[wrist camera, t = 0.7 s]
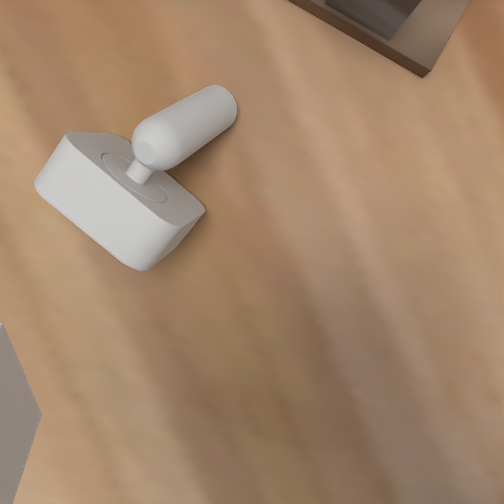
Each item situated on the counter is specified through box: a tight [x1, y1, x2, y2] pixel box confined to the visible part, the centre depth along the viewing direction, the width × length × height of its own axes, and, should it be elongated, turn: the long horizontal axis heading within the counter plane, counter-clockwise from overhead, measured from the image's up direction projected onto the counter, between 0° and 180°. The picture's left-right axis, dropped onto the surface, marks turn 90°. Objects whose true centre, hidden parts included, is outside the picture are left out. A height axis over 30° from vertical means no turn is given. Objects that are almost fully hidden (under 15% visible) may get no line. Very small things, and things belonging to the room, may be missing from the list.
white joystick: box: [34, 85, 237, 271], centre depth 28 cm, size 8×10×10 cm
